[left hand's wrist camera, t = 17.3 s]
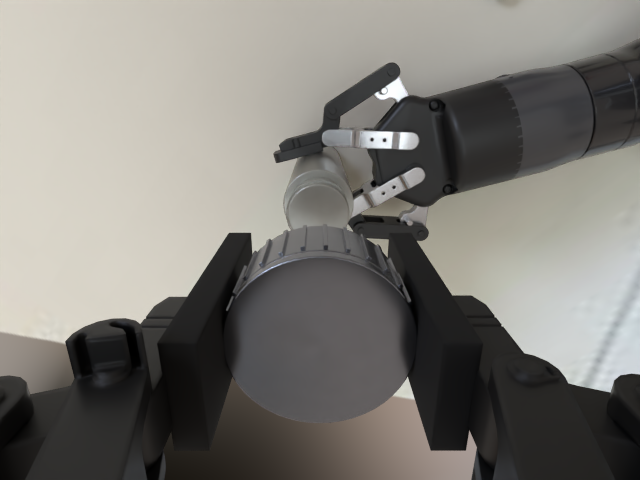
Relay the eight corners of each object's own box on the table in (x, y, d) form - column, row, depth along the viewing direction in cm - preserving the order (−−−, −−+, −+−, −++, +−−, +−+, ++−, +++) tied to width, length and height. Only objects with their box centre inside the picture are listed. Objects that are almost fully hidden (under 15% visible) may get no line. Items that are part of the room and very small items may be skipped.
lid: (290, 392, 13) (284, 451, 11) (204, 271, 12) (177, 312, 10) (429, 329, 12) (452, 378, 10) (355, 191, 11) (364, 215, 9)
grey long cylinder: (320, 132, 37) (320, 160, 21) (349, 165, 38) (372, 216, 22) (288, 163, 38) (264, 213, 22) (318, 194, 39) (316, 264, 23)
